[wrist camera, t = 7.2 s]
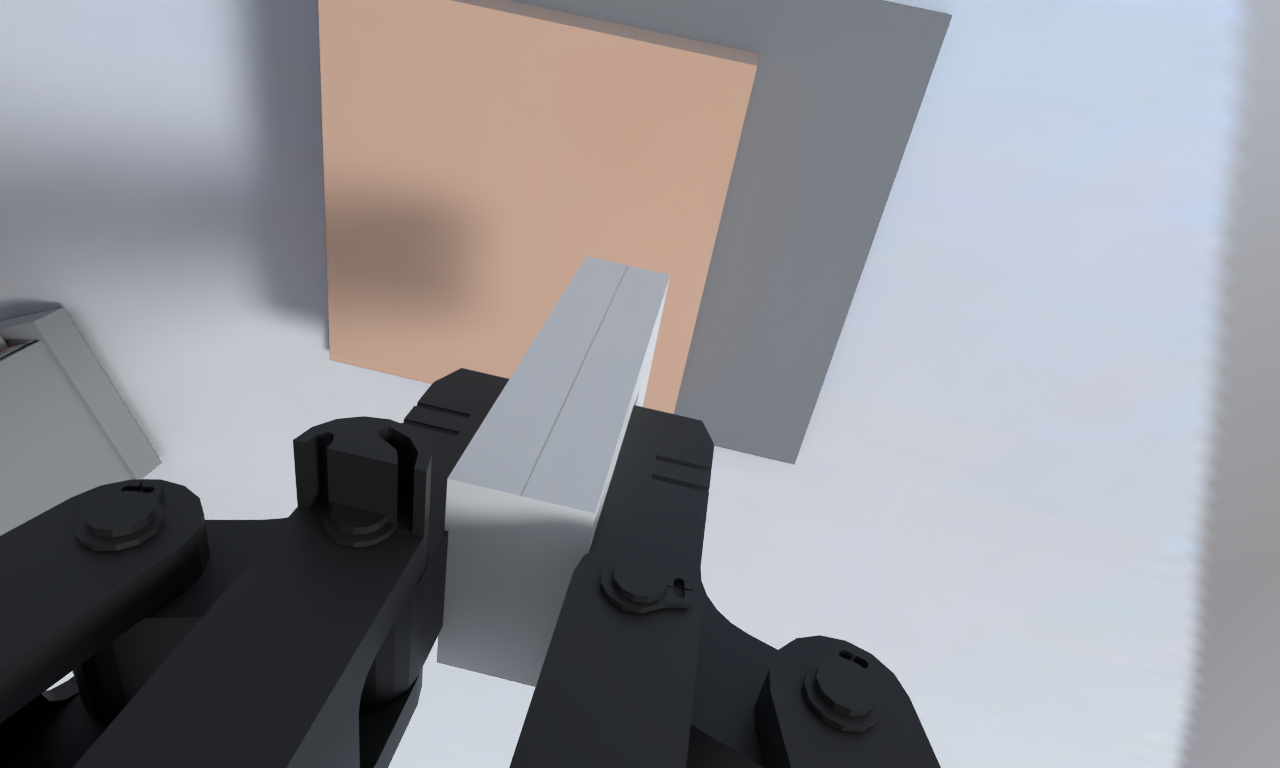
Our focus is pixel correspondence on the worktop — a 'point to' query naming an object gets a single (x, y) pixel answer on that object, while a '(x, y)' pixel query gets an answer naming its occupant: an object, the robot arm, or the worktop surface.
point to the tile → (513, 176)
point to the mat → (791, 194)
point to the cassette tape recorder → (59, 419)
